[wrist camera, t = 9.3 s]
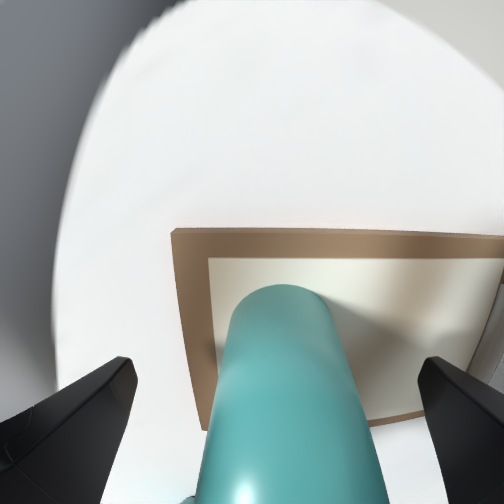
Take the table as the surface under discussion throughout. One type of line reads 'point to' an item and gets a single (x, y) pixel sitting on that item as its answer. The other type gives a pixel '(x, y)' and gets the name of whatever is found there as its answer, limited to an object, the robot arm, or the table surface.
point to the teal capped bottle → (287, 410)
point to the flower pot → (188, 500)
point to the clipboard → (351, 302)
